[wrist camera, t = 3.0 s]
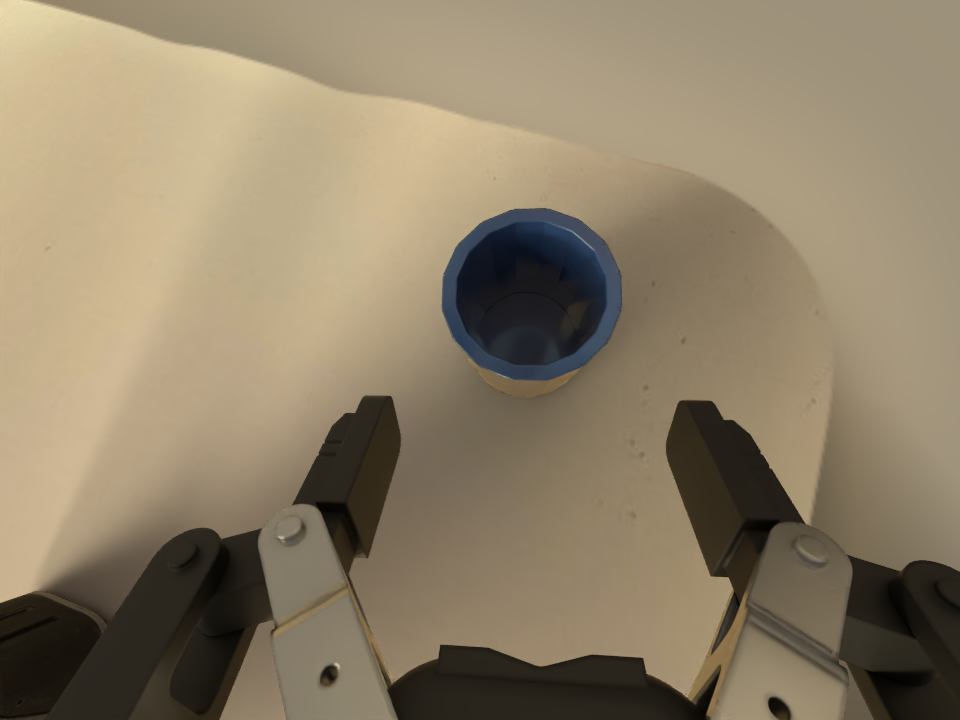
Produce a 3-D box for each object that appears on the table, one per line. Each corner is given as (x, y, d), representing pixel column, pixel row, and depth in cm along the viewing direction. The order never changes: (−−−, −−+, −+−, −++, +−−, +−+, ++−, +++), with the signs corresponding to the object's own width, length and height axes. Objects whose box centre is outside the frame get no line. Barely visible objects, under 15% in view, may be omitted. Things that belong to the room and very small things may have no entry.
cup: (581, 286, 21) (619, 205, 14) (584, 398, 21) (625, 381, 13) (470, 287, 22) (444, 210, 14) (468, 396, 21) (438, 379, 13)
